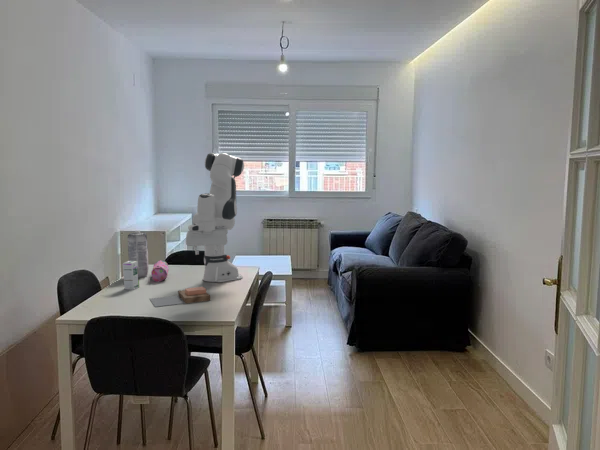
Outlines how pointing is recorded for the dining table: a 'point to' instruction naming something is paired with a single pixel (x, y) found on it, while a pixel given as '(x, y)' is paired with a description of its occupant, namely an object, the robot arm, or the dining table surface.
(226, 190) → the robot arm
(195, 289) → the salmon pink rectangular block
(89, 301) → the dining table surface
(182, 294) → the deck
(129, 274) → the syrup box
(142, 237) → the juice carton
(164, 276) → the pencil case
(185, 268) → the dining table surface
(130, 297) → the dining table surface
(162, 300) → the mat
